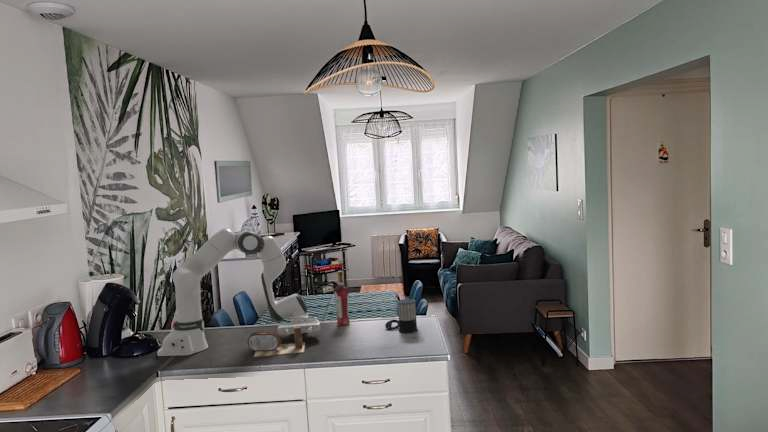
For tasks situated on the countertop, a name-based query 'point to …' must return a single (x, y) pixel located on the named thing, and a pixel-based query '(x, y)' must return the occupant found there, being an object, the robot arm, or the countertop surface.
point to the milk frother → (405, 317)
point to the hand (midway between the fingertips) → (298, 332)
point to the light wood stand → (286, 346)
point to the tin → (264, 341)
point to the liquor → (341, 301)
